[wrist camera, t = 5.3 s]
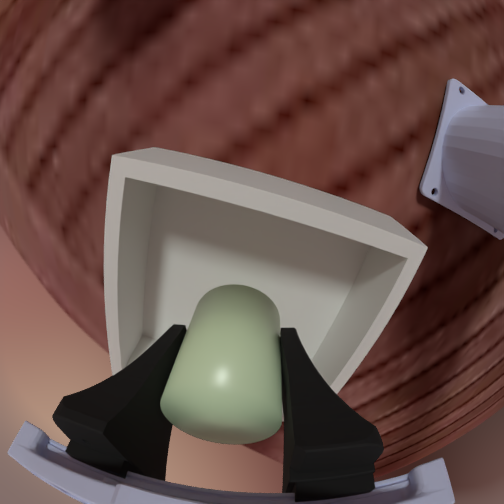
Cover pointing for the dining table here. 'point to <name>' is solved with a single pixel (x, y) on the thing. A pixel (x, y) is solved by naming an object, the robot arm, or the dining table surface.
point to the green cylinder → (228, 369)
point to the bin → (247, 256)
